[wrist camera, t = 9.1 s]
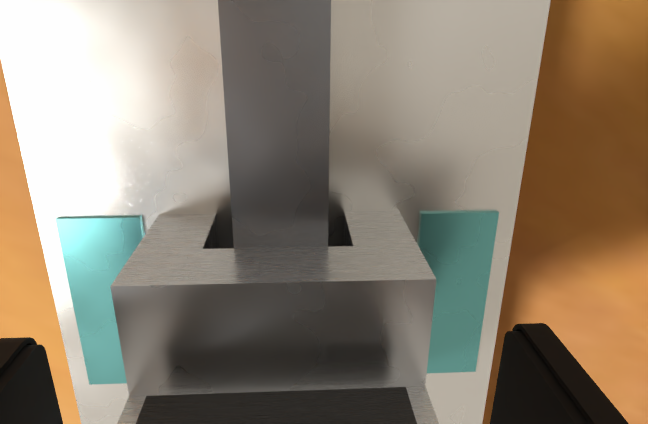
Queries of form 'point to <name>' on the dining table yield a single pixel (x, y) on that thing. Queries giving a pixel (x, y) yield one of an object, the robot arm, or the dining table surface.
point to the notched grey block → (276, 327)
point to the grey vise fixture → (275, 148)
